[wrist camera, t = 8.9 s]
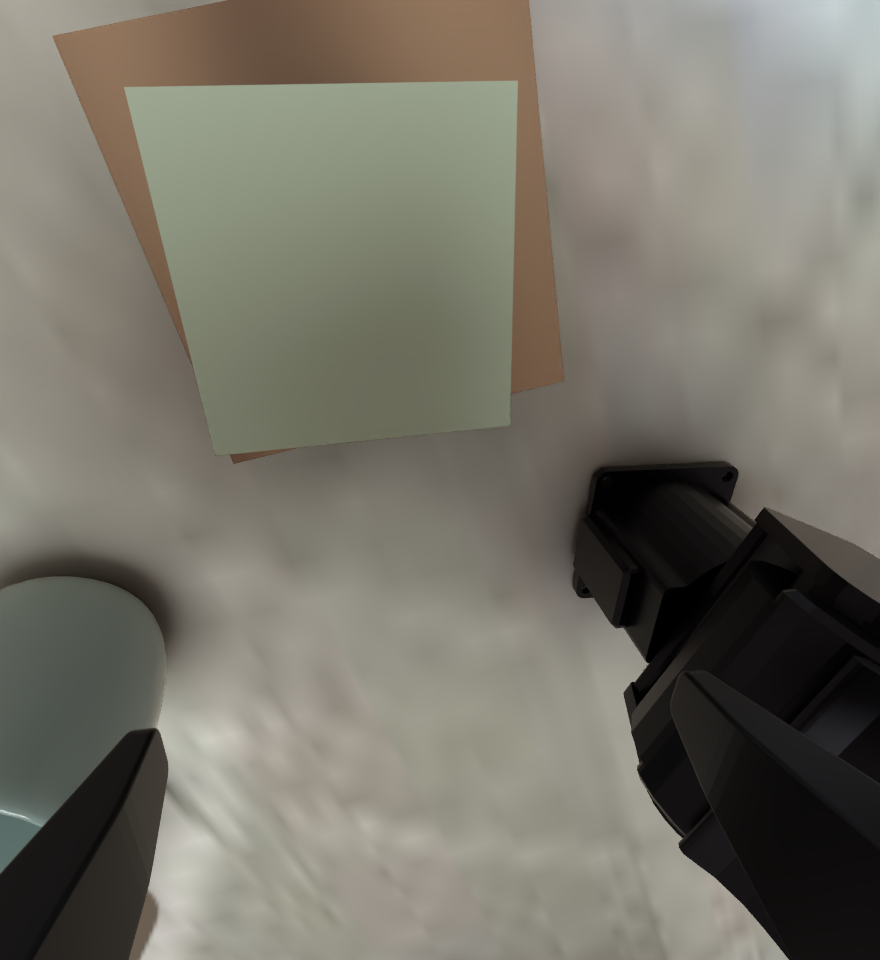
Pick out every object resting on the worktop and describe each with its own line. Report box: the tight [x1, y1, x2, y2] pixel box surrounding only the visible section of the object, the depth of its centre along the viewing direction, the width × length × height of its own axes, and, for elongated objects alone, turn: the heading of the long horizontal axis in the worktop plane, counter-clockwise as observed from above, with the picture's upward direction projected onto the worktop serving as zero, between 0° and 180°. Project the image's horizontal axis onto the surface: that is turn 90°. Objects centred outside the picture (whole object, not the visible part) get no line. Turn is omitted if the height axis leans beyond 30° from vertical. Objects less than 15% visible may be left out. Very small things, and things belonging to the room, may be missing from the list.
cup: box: [0, 576, 166, 873], centre depth 18 cm, size 8×8×10 cm
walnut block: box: [52, 0, 564, 464], centre depth 15 cm, size 9×9×6 cm
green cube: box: [124, 81, 518, 456], centre depth 11 cm, size 5×5×5 cm
